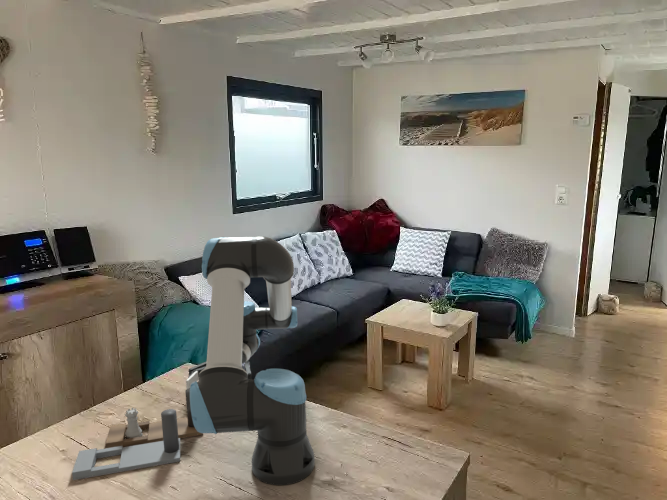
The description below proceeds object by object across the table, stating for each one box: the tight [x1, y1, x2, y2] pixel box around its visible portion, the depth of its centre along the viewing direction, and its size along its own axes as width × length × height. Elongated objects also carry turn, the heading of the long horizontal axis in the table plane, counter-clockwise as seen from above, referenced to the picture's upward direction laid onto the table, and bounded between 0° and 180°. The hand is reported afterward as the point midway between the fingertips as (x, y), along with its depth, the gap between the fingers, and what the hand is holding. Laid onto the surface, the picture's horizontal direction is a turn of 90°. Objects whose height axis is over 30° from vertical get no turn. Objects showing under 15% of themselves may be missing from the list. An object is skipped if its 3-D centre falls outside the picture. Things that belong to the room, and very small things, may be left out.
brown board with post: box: [105, 388, 204, 448], centre depth 136 cm, size 9×24×11 cm, turn 106°
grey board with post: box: [71, 408, 181, 481], centre depth 125 cm, size 9×24×11 cm, turn 106°
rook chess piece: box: [124, 407, 144, 439], centre depth 135 cm, size 4×4×8 cm
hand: (209, 386), depth 148 cm, fingers open, 13 cm apart
